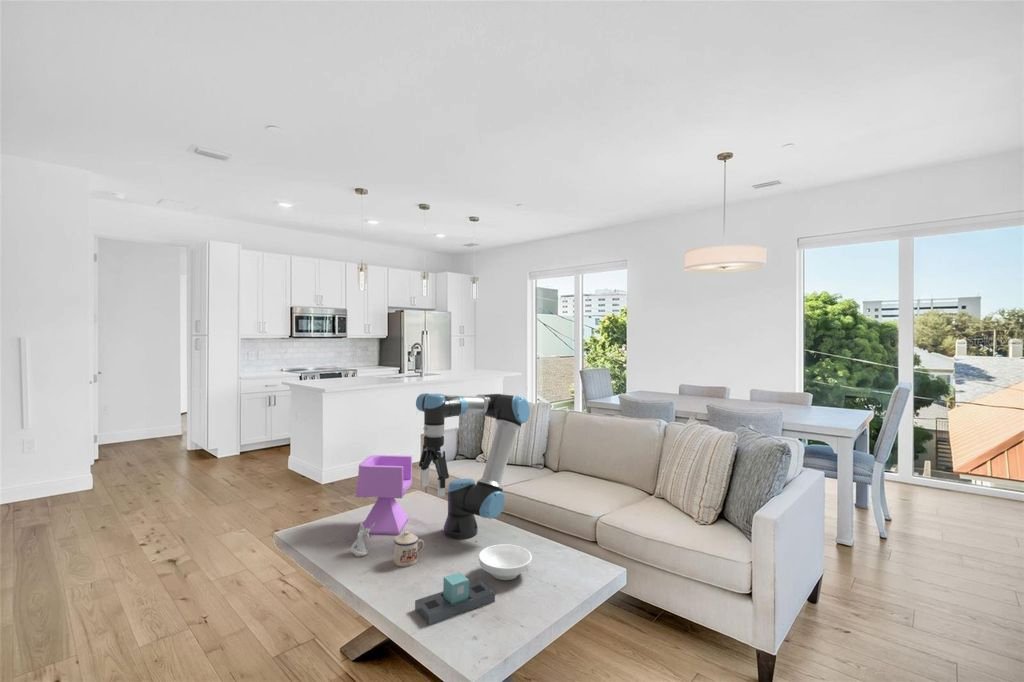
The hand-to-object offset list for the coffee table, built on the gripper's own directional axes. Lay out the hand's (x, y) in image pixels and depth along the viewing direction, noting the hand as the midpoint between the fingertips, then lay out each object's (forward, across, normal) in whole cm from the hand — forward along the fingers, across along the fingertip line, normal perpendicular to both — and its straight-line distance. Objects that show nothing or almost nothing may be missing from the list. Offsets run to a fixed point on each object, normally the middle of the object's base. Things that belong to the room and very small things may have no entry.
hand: (432, 491), depth 184 cm
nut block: (+29, +28, -5) cm, 40 cm away
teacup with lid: (+29, -9, -5) cm, 31 cm away
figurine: (+29, -26, -17) cm, 43 cm away
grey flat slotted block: (+29, +28, -5) cm, 40 cm away
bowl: (+29, +20, +20) cm, 41 cm away
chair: (+29, -46, -1) cm, 54 cm away
